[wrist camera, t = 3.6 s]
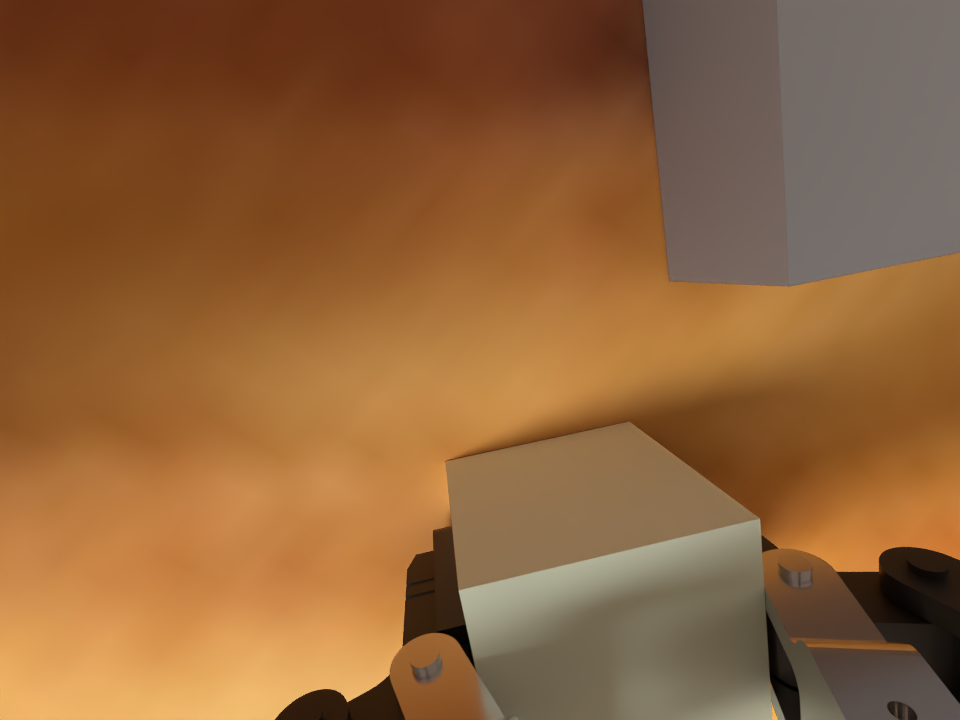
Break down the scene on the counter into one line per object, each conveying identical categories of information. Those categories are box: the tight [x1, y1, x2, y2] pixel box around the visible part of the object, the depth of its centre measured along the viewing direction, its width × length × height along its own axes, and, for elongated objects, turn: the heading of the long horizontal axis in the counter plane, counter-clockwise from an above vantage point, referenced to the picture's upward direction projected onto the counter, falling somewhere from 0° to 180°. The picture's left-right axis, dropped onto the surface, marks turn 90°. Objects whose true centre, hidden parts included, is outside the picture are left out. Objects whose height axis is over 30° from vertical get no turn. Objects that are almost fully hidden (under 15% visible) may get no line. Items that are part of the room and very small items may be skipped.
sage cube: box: [445, 422, 772, 720], centre depth 10 cm, size 5×5×5 cm
